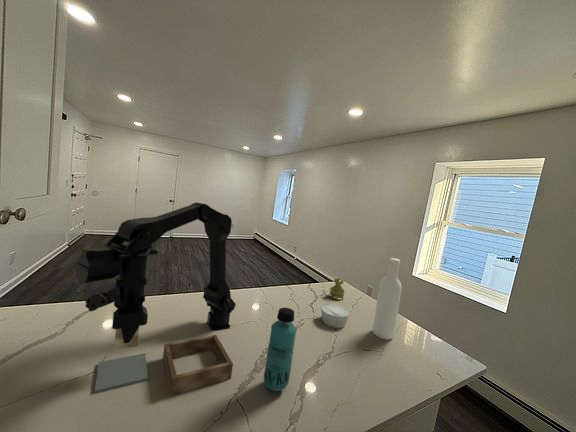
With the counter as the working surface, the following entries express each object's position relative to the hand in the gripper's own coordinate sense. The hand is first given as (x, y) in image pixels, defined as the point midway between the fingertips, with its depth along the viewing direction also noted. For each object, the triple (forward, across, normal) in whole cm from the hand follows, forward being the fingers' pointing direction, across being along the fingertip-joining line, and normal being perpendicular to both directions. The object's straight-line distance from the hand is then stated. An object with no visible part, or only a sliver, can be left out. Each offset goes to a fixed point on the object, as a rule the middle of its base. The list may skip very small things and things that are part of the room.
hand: (126, 337), depth 60 cm
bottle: (+9, +12, +85) cm, 86 cm away
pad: (+9, 0, 0) cm, 9 cm away
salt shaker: (+9, -22, +93) cm, 96 cm away
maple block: (+1, 0, 0) cm, 1 cm away
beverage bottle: (+9, +19, +32) cm, 38 cm away
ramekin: (+9, -2, +72) cm, 73 cm away
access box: (+9, +5, +16) cm, 19 cm away
